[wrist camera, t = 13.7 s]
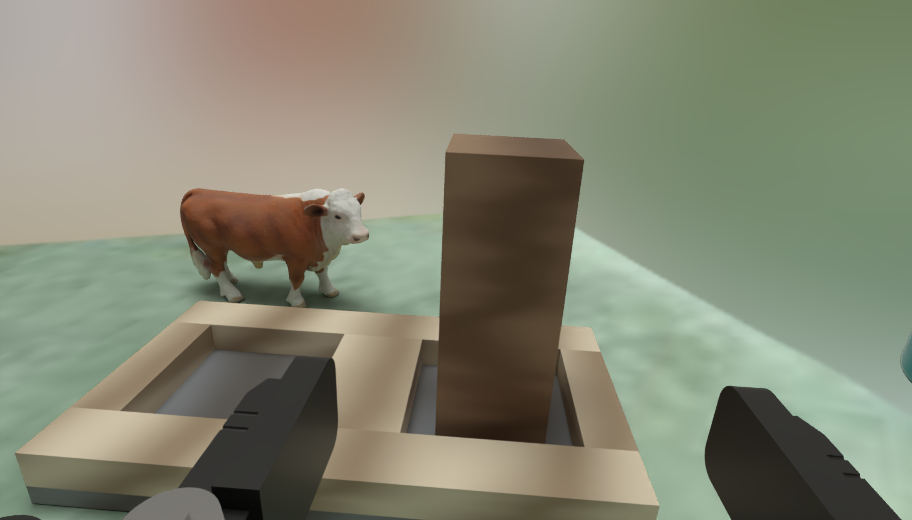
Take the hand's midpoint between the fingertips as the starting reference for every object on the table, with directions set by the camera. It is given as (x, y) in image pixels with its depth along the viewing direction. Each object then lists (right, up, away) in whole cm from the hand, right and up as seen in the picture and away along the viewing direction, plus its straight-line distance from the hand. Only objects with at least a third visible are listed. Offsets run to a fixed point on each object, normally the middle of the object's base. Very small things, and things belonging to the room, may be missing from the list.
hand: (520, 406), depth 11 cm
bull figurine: (-13, 0, +24) cm, 28 cm away
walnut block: (0, -4, +12) cm, 13 cm away
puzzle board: (-5, -4, +13) cm, 15 cm away
